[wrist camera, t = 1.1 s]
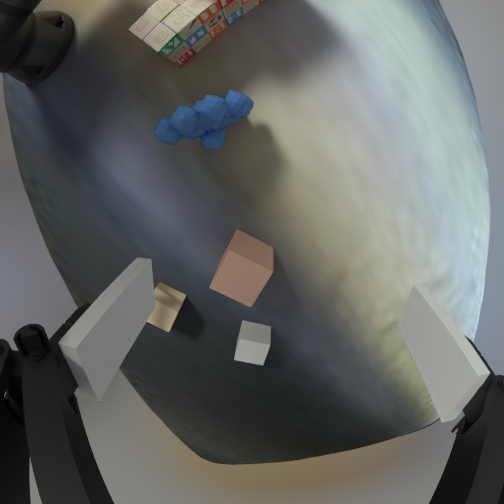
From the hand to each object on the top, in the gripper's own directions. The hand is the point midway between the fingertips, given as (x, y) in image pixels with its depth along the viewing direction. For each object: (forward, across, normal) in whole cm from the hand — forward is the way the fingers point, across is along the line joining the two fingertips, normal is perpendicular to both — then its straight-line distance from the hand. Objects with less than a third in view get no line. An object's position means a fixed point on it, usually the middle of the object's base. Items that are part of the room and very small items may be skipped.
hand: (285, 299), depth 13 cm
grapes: (+28, -9, +8) cm, 30 cm away
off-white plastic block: (+28, -1, -25) cm, 37 cm away
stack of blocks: (+28, -10, +27) cm, 40 cm away
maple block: (+28, -16, -20) cm, 38 cm away
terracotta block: (+28, -4, -10) cm, 29 cm away
